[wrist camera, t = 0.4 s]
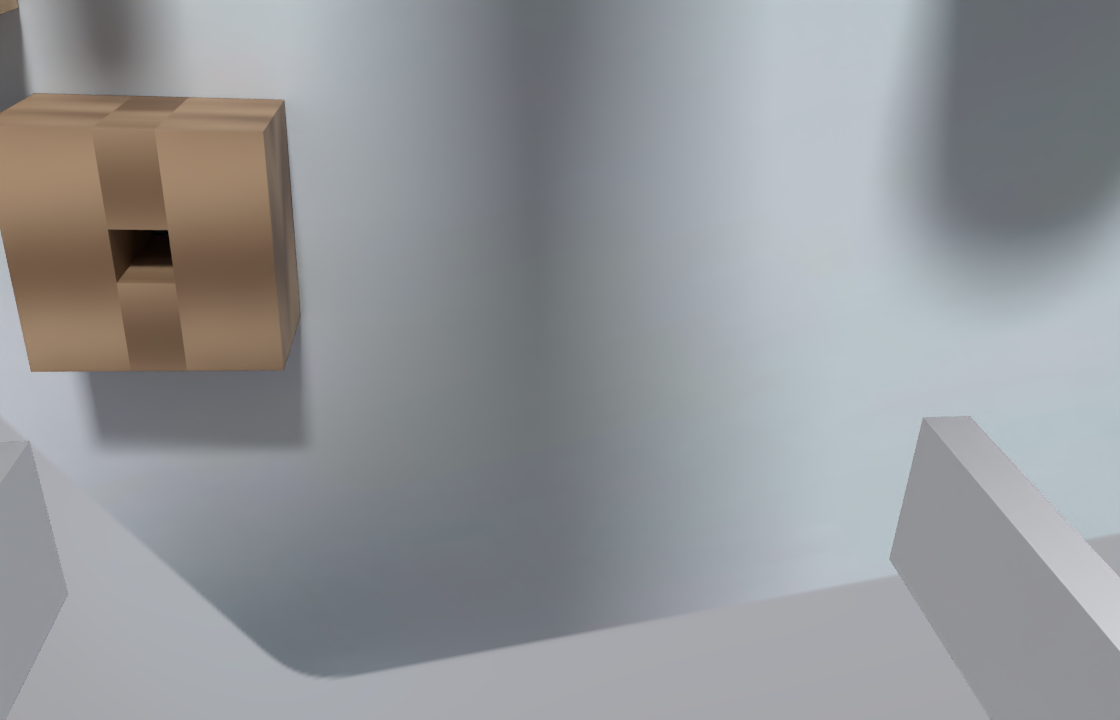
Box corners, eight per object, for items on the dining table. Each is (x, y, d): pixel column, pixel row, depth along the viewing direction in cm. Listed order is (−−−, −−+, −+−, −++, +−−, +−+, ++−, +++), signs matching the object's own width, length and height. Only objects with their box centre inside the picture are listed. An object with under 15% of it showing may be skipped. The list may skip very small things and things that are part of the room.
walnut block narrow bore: (34, 93, 36) (-22, 125, 32) (284, 99, 37) (263, 131, 33) (75, 315, 40) (30, 371, 36) (300, 315, 41) (283, 370, 37)
